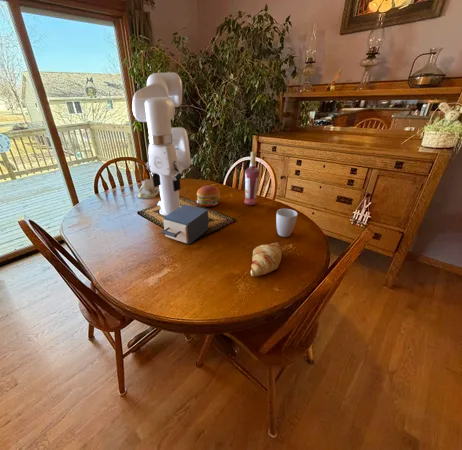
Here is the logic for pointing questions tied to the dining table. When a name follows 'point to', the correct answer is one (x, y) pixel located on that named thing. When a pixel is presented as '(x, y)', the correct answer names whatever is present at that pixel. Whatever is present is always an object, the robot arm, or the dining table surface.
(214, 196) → the burger
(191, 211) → the cabinet
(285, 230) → the cup
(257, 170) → the liquor
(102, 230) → the dining table surface
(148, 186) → the ceramic model
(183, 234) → the drawer
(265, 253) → the croissant
